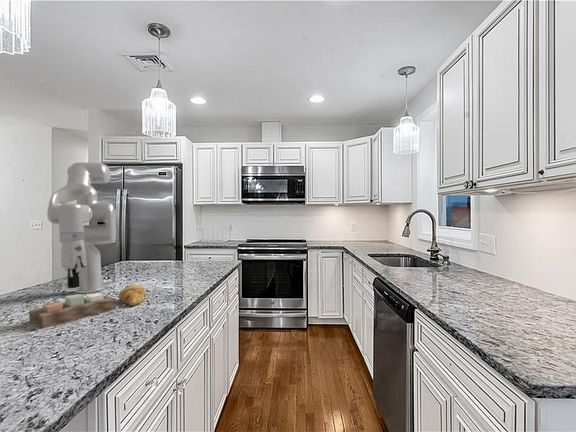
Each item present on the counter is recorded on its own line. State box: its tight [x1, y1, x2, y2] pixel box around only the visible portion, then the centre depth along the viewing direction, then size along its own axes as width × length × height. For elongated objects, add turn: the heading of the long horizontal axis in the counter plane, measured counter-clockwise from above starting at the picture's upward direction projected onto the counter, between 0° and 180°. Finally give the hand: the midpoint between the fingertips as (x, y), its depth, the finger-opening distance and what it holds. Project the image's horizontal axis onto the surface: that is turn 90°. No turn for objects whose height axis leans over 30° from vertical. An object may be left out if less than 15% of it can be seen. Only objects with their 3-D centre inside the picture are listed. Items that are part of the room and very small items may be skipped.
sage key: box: [64, 293, 85, 307], centre depth 121 cm, size 4×4×4 cm
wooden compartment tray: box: [28, 295, 117, 329], centre depth 121 cm, size 24×12×4 cm, turn 145°
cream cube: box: [85, 292, 105, 302], centre depth 127 cm, size 4×4×4 cm
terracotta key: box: [42, 301, 63, 313], centre depth 115 cm, size 4×4×4 cm
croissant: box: [118, 284, 147, 307], centre depth 138 cm, size 21×10×8 cm, turn 28°
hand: (73, 287), depth 120 cm, fingers closed
